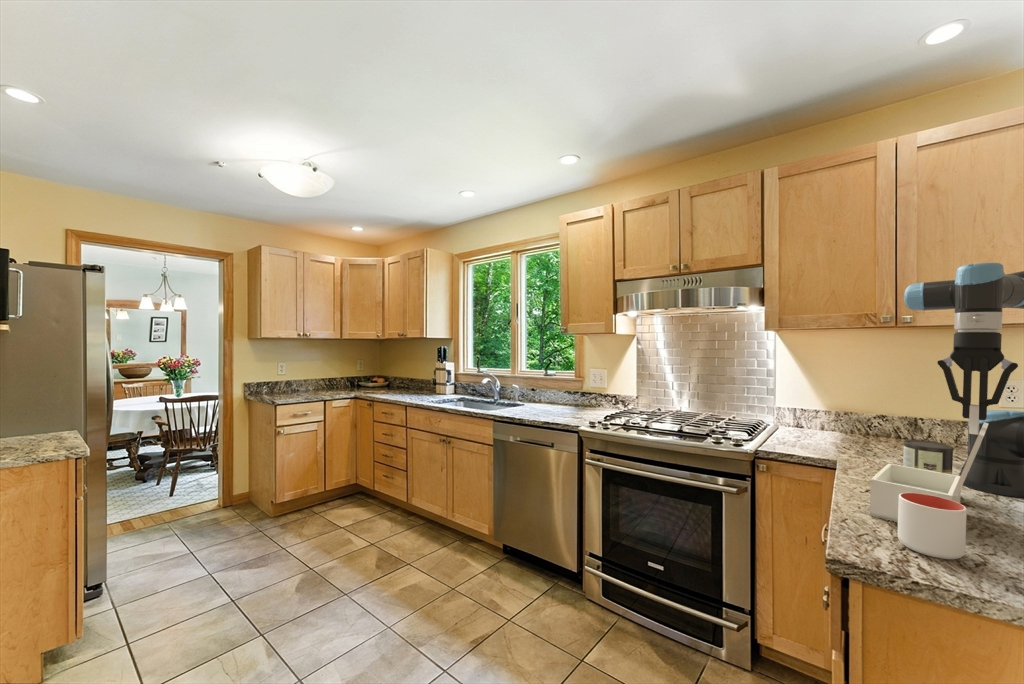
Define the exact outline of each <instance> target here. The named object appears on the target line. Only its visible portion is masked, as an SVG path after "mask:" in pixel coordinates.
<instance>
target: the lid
mask: <svg viewBox="0 0 1024 684" xmlns="http://www.w3.org/2000/svg"><path fill="white" fill-rule="evenodd" d="M988 424H989V423H985V422H984V424H983V426H982V428H981V430H980V432H979V435H978V437H977V439H976V442H975V444H974V446H973V449H972V451H971V453H970V455H969V458H968V460H967V459H966V460H967V462H966V461H965V462H966V465H965V467H964V469H963V472H962V474H961V476H960V479H959V481H958V483H957V485H956V488H955V490H954V492H953V495H954V496H956V497H958V494H959V492H960V490H962V487H963V486H964V485H963V483H964V481H965V478H966V476H967V474H968V472H969V470H970V468H971V466H972V463H973V461H974V459H975V457H976V454H977V452H978V450H979V447H980V445H981V442H982V439H983V437H984V435H985V432H986V429H987V427H988Z"/></svg>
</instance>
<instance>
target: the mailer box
mask: <svg viewBox="0 0 1024 684" xmlns="http://www.w3.org/2000/svg"><path fill="white" fill-rule="evenodd" d="M959 479H960V476H959V475H957V474H956V475H955V474H952V475H951V474H945V473H940V472H934V471H928V470H923V469H917V468H912V467H906V466H903V465H899V464H894V463H888V462H887V464H886V465H885V466H884V467H882V468H881V469H880V470H879V471H878V472H877V473H876V474H875V475H874V476H873V477H871V479H870V491H869V492H870V494H869V516H870V515H871V516H870V517H872V516H874V517H873V518H876V517H878V518H877V519H880V518H882V519H881V520H884V519H887V520H886V521H888V520H890V521H889V522H892V521H894V522H893V523H895V522H897V523H896V524H898V502H899V494H901V493H920V494H927V495H932V496H937V497H941V498H945V499H948V500H951V501H954V502H957V503H959V504H961V495H962V494H961V490H962V489H961V490H960V492H959V494H958V497H956V496H954V495H953V492H954V490H955V488H956V485H957V483H958V481H959Z"/></svg>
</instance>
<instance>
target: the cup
mask: <svg viewBox="0 0 1024 684" xmlns="http://www.w3.org/2000/svg"><path fill="white" fill-rule="evenodd" d="M966 535H967V507H966V506H965V505H963V504H961V503H960V504H959V503H957V502H954V501H951V500H948V499H945V498H941V497H937V496H932V495H927V494H920V493H901V494H899V502H898V523H897V538H898V540H899V541H900V544H902V545H904V546H905V547H906V548H908V549H909V550H912V551H914V552H917V553H919V554H922V555H926V556H929V557H931V558H932V557H933V558H935V559H943V560H958V559H960V558H962V557H964V556H965V554H966V539H967V536H966Z"/></svg>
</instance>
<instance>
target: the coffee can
mask: <svg viewBox="0 0 1024 684" xmlns="http://www.w3.org/2000/svg"><path fill="white" fill-rule="evenodd" d="M902 443H903V452H902V453H903V458H902V459H903V460H902V461H903V462H902V466H906V467H912V468H917V469H923V470H928V471H934V472H940V473H945V474H951V475H953V462H954V461H953V458H954V456H953V455H954V449H955V448H954V447H953V446H951V445H949V444H945V443H942V442H941V443H940V442H933V441H926V440H920V439H919V440H918V439H906V440H903V441H902Z"/></svg>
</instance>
